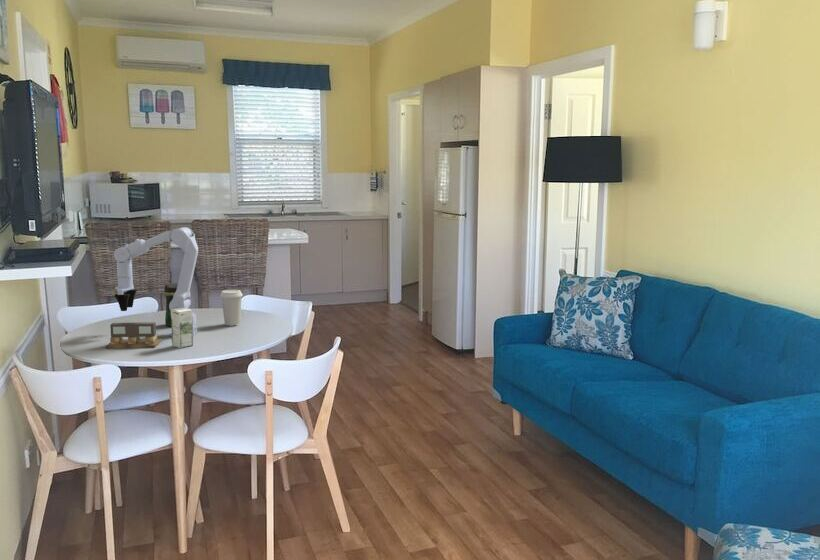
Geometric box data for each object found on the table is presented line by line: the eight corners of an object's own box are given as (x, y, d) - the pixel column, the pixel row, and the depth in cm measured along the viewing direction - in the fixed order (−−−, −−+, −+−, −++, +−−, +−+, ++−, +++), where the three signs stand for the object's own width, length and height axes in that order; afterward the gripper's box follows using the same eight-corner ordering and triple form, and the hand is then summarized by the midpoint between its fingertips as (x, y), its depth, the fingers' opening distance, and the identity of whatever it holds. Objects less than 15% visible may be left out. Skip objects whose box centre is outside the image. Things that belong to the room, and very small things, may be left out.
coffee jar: (166, 327, 295) (164, 285, 292) (164, 324, 302) (162, 282, 299) (190, 325, 299) (188, 283, 296) (187, 322, 306) (185, 281, 304)
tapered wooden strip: (156, 334, 267) (155, 322, 266) (153, 336, 264) (153, 324, 263) (113, 335, 266) (112, 322, 265) (110, 337, 263) (110, 324, 262)
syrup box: (185, 343, 268) (183, 307, 266) (193, 345, 265) (192, 309, 262) (171, 346, 264) (170, 309, 262) (180, 348, 260) (178, 311, 258)
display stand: (161, 341, 271) (161, 332, 271) (154, 347, 261) (154, 338, 261) (114, 342, 270) (114, 333, 269) (105, 348, 260) (105, 339, 259)
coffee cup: (246, 322, 306) (245, 289, 304) (239, 327, 297) (238, 293, 295) (225, 322, 307) (224, 289, 305) (217, 326, 298) (216, 292, 295)
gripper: (120, 273, 287) (122, 305, 289) (108, 279, 272) (110, 312, 274) (137, 273, 287) (139, 305, 289) (127, 279, 273) (129, 312, 275)
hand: (126, 309), depth 282 cm, fingers open, 7 cm apart
